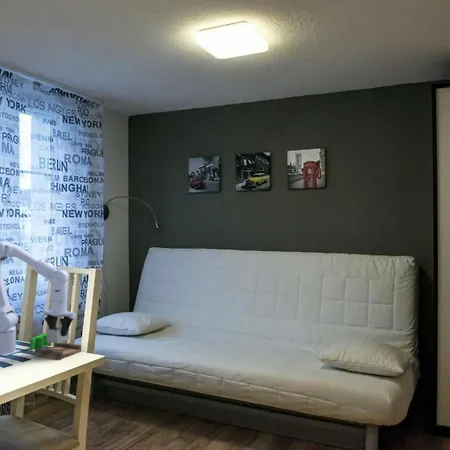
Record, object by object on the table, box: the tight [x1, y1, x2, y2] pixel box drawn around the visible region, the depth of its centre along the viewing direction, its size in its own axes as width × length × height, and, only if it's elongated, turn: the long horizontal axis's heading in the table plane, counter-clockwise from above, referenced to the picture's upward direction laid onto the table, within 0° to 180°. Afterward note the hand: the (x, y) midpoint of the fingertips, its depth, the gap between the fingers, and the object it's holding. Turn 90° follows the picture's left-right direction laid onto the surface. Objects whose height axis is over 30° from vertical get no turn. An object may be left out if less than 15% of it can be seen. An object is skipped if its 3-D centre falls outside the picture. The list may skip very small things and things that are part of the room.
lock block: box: [46, 325, 70, 344], centre depth 190 cm, size 5×7×5 cm
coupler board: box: [33, 341, 82, 361], centre depth 191 cm, size 12×13×3 cm
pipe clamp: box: [29, 332, 49, 351], centre depth 201 cm, size 11×4×5 cm, turn 173°
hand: (58, 335), depth 191 cm, fingers closed on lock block, 5 cm apart
